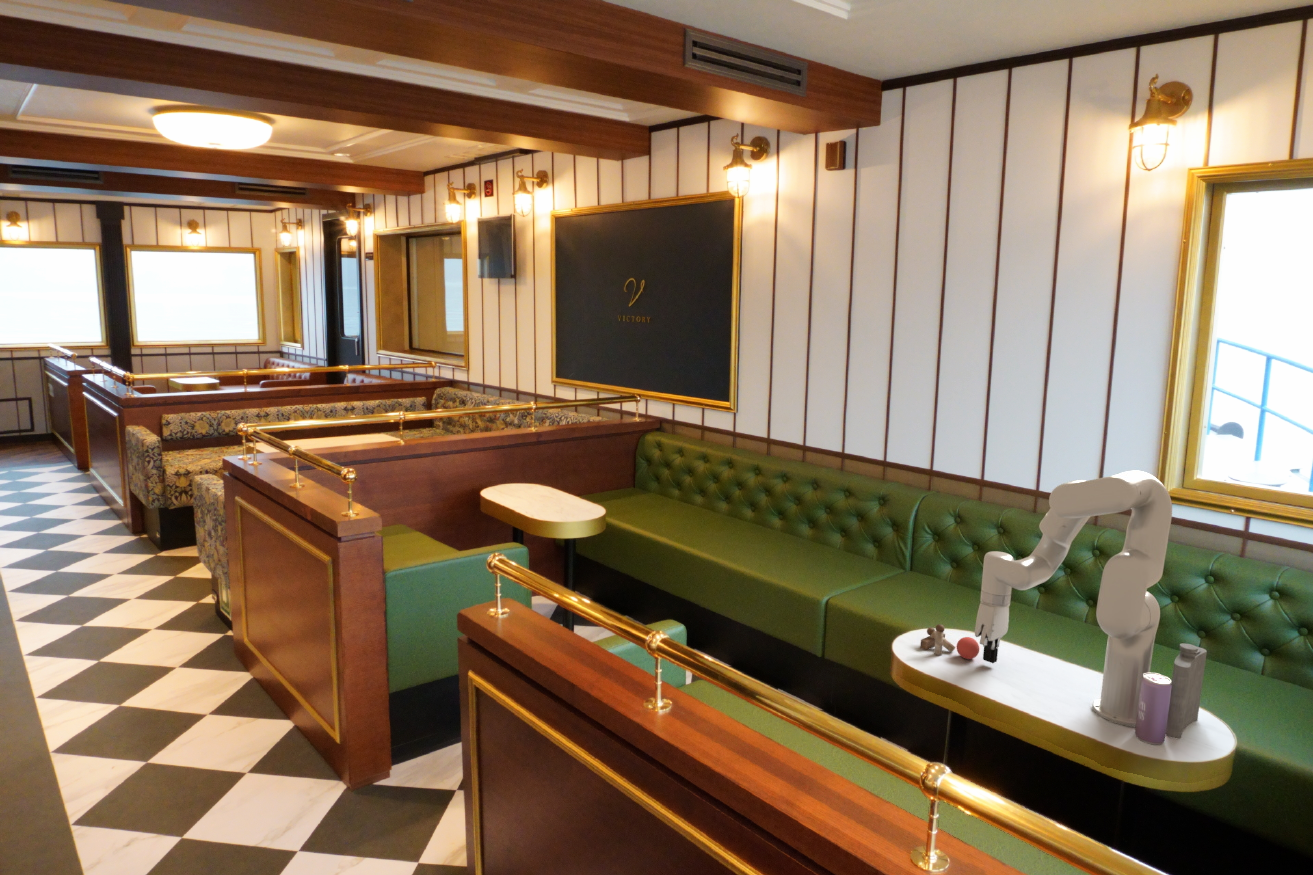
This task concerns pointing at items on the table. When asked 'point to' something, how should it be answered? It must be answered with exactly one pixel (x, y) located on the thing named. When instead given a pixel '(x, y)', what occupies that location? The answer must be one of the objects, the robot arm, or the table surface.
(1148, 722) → the beverage can
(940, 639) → the pin
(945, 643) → the pin
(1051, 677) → the table surface
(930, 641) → the stopper wall
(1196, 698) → the hip flask
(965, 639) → the ball
